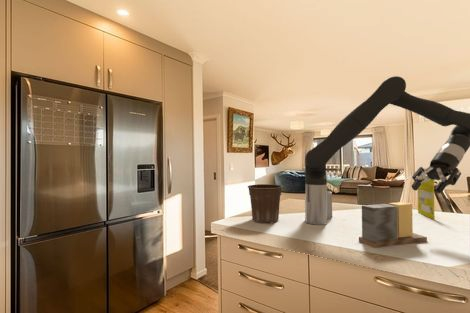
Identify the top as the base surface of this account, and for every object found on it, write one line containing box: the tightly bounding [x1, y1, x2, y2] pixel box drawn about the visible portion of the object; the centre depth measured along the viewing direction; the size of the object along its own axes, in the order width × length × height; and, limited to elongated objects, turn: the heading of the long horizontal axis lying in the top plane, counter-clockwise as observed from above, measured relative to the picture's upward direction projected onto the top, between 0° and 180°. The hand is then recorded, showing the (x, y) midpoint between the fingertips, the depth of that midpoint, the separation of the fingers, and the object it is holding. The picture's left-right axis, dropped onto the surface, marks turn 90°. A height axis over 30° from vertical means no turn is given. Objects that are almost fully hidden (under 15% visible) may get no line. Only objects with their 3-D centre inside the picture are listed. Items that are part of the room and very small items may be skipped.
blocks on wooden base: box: [358, 203, 428, 249], centre depth 89 cm, size 22×7×12 cm, turn 106°
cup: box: [327, 190, 333, 219], centre depth 129 cm, size 9×9×12 cm
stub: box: [388, 201, 414, 238], centre depth 90 cm, size 6×4×11 cm, turn 106°
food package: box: [417, 174, 435, 220], centre depth 127 cm, size 15×1×20 cm, turn 168°
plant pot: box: [247, 183, 283, 224], centre depth 121 cm, size 16×16×16 cm
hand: (424, 190), depth 93 cm, fingers open, 8 cm apart
